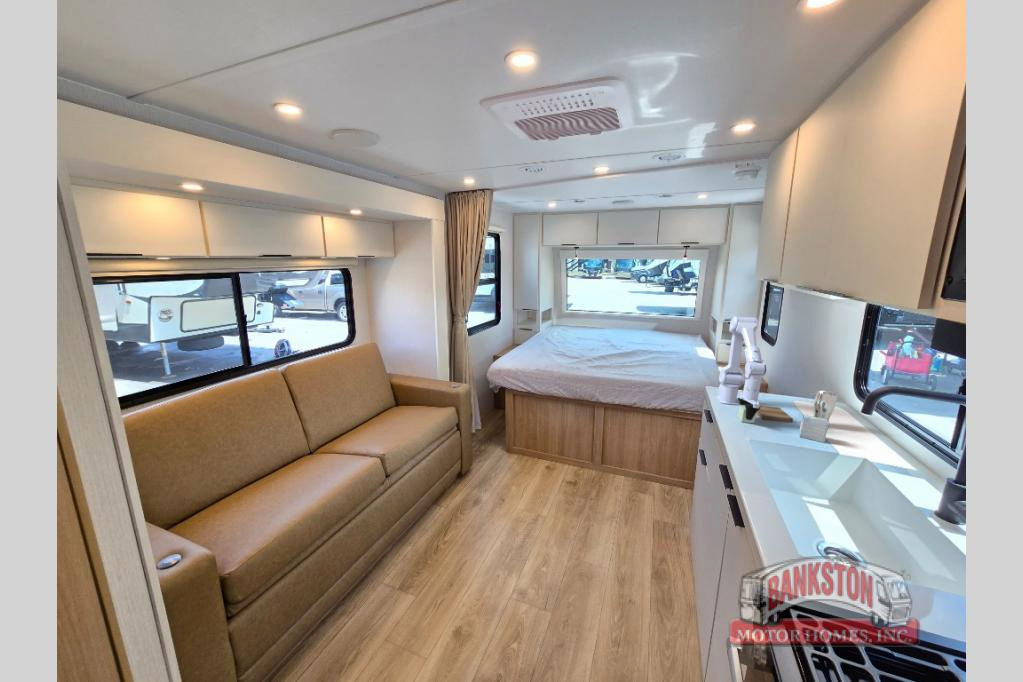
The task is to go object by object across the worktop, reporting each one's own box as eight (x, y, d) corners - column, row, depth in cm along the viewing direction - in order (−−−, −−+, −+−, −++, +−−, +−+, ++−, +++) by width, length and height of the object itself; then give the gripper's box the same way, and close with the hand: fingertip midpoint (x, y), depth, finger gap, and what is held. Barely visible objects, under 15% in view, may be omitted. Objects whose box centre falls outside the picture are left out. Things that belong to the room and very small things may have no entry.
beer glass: (827, 429, 152) (835, 397, 149) (806, 423, 158) (814, 392, 154) (831, 425, 156) (839, 393, 153) (811, 419, 162) (819, 388, 158)
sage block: (737, 417, 162) (739, 404, 161) (749, 418, 161) (751, 406, 160) (741, 421, 157) (744, 409, 156) (754, 423, 156) (756, 410, 155)
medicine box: (822, 438, 144) (827, 419, 142) (824, 443, 141) (829, 423, 139) (798, 433, 149) (802, 414, 147) (799, 437, 145) (803, 417, 143)
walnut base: (750, 408, 172) (751, 405, 171) (778, 411, 170) (779, 407, 169) (762, 419, 161) (763, 415, 160) (792, 422, 158) (793, 418, 158)
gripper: (735, 381, 163) (730, 409, 167) (748, 393, 150) (742, 422, 153) (752, 383, 162) (746, 410, 165) (767, 395, 148) (761, 424, 151)
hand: (746, 416), depth 159 cm, fingers closed on sage block, 5 cm apart
